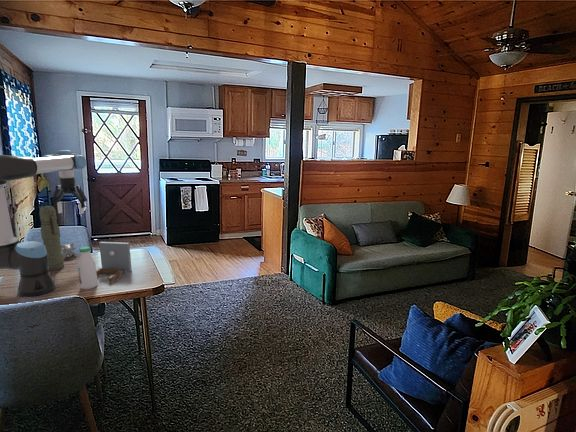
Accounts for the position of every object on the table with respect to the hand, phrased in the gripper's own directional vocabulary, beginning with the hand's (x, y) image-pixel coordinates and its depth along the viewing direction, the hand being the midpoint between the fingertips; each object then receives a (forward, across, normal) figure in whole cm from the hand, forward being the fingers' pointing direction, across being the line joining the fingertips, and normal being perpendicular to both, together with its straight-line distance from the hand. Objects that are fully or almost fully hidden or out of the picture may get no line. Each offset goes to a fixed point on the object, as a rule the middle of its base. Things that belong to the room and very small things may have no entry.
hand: (71, 213), depth 225 cm
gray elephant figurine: (+28, +7, -2) cm, 29 cm away
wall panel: (+28, -36, +20) cm, 49 cm away
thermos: (+28, +1, +17) cm, 33 cm away
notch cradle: (+28, -36, +31) cm, 55 cm away
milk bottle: (+28, -34, +41) cm, 60 cm away
